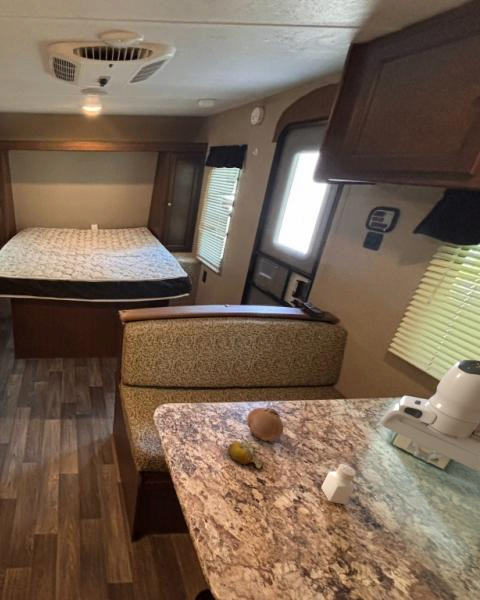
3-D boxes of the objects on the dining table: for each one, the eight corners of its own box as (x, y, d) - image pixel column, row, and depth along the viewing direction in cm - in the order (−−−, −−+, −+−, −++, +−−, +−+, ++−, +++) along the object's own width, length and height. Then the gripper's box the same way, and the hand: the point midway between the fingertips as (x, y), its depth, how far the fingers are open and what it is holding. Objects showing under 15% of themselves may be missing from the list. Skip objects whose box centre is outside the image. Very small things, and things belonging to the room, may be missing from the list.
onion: (261, 434, 99) (277, 407, 98) (280, 453, 90) (297, 423, 89) (235, 423, 99) (250, 395, 98) (251, 440, 90) (268, 410, 88)
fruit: (265, 470, 84) (269, 460, 83) (234, 469, 84) (237, 459, 83) (250, 444, 92) (253, 435, 90) (222, 443, 92) (224, 434, 90)
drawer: (441, 479, 83) (458, 456, 80) (389, 452, 90) (402, 431, 87) (447, 444, 94) (462, 423, 90) (400, 423, 101) (413, 403, 98)
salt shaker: (328, 502, 77) (343, 475, 73) (319, 487, 80) (333, 461, 77) (346, 505, 76) (362, 478, 72) (336, 489, 80) (351, 463, 76)
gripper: (513, 439, 74) (480, 479, 79) (396, 392, 88) (375, 429, 93) (514, 453, 70) (479, 494, 75) (392, 401, 84) (370, 439, 90)
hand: (421, 458), depth 85 cm, fingers closed, pressing on drawer
